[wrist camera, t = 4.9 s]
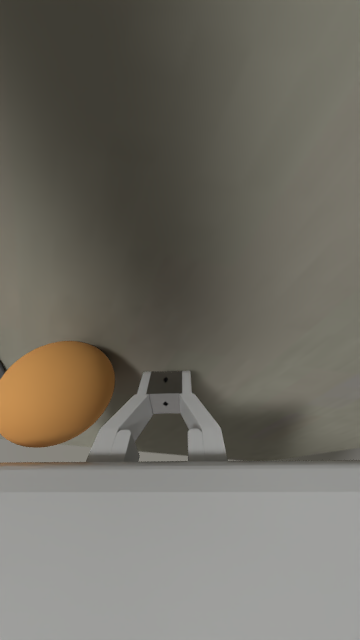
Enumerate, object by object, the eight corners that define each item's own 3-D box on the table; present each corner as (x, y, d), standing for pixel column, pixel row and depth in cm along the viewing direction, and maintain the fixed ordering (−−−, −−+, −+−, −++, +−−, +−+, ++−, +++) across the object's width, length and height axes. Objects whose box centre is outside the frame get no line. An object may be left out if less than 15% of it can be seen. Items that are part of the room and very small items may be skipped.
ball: (48, 409, 5) (-94, 401, 5) (97, 470, 8) (0, 462, 8) (118, 324, 10) (40, 323, 10) (133, 381, 12) (71, 378, 13)
